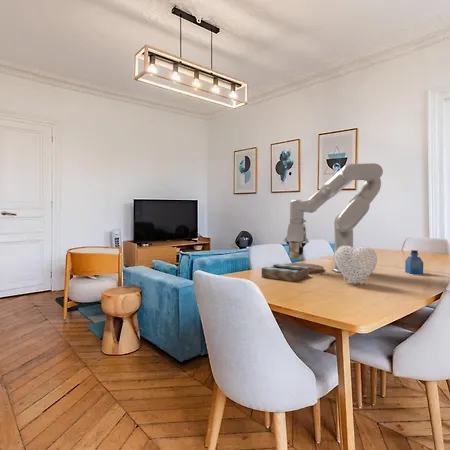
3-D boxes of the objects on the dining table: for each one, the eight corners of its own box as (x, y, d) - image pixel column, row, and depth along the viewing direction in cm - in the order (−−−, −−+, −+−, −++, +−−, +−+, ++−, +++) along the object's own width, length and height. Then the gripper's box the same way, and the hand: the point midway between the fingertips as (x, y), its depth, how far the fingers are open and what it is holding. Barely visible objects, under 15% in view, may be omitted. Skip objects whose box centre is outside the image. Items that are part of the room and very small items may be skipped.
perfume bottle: (417, 272, 177) (417, 249, 176) (423, 274, 170) (423, 251, 170) (405, 272, 177) (405, 249, 177) (410, 274, 171) (410, 251, 170)
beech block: (301, 258, 188) (302, 242, 188) (298, 259, 184) (298, 243, 184) (293, 257, 191) (294, 241, 191) (289, 258, 187) (290, 242, 187)
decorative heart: (331, 283, 152) (332, 246, 151) (337, 279, 161) (338, 244, 160) (374, 288, 142) (375, 248, 141) (378, 283, 151) (379, 246, 150)
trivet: (291, 264, 205) (291, 261, 205) (330, 269, 189) (330, 266, 189) (269, 270, 186) (269, 267, 186) (311, 276, 170) (311, 272, 170)
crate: (308, 276, 169) (308, 267, 169) (294, 281, 156) (294, 271, 156) (276, 272, 180) (276, 263, 179) (261, 277, 167) (261, 268, 167)
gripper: (313, 222, 184) (313, 254, 185) (285, 221, 195) (285, 251, 196) (308, 222, 178) (307, 256, 179) (279, 221, 189) (279, 253, 190)
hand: (296, 253), depth 187 cm, fingers closed on beech block, 5 cm apart
